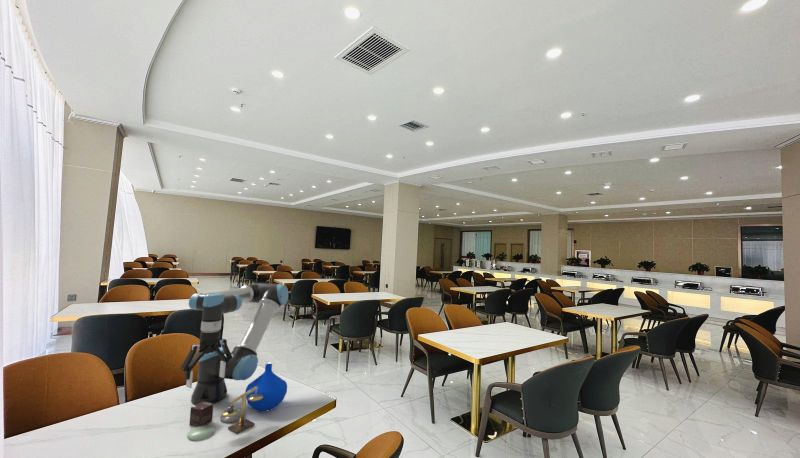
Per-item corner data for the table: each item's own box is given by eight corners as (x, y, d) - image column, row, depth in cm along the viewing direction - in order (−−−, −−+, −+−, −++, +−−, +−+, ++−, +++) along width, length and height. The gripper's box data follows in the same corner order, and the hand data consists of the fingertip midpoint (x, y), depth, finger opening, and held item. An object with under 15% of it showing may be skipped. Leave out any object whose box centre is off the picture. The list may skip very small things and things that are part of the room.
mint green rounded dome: (182, 435, 125) (182, 432, 125) (206, 425, 133) (206, 422, 133) (194, 443, 120) (194, 440, 120) (218, 432, 128) (218, 430, 128)
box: (212, 421, 136) (214, 403, 137) (199, 428, 130) (201, 409, 131) (201, 418, 138) (203, 400, 139) (188, 425, 132) (190, 406, 133)
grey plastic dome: (216, 419, 138) (216, 416, 138) (236, 410, 146) (236, 408, 146) (227, 425, 133) (228, 423, 133) (248, 417, 141) (248, 414, 141)
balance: (216, 434, 127) (220, 395, 128) (255, 417, 141) (258, 382, 142) (225, 439, 124) (228, 400, 125) (264, 421, 138) (266, 386, 139)
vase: (234, 410, 146) (238, 367, 147) (264, 395, 163) (267, 356, 164) (266, 419, 139) (270, 374, 141) (294, 402, 156) (297, 362, 158)
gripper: (183, 337, 125) (178, 394, 123) (243, 326, 146) (239, 375, 144) (174, 334, 128) (168, 389, 127) (233, 324, 150) (229, 371, 148)
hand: (206, 381), depth 136 cm, fingers open, 13 cm apart
